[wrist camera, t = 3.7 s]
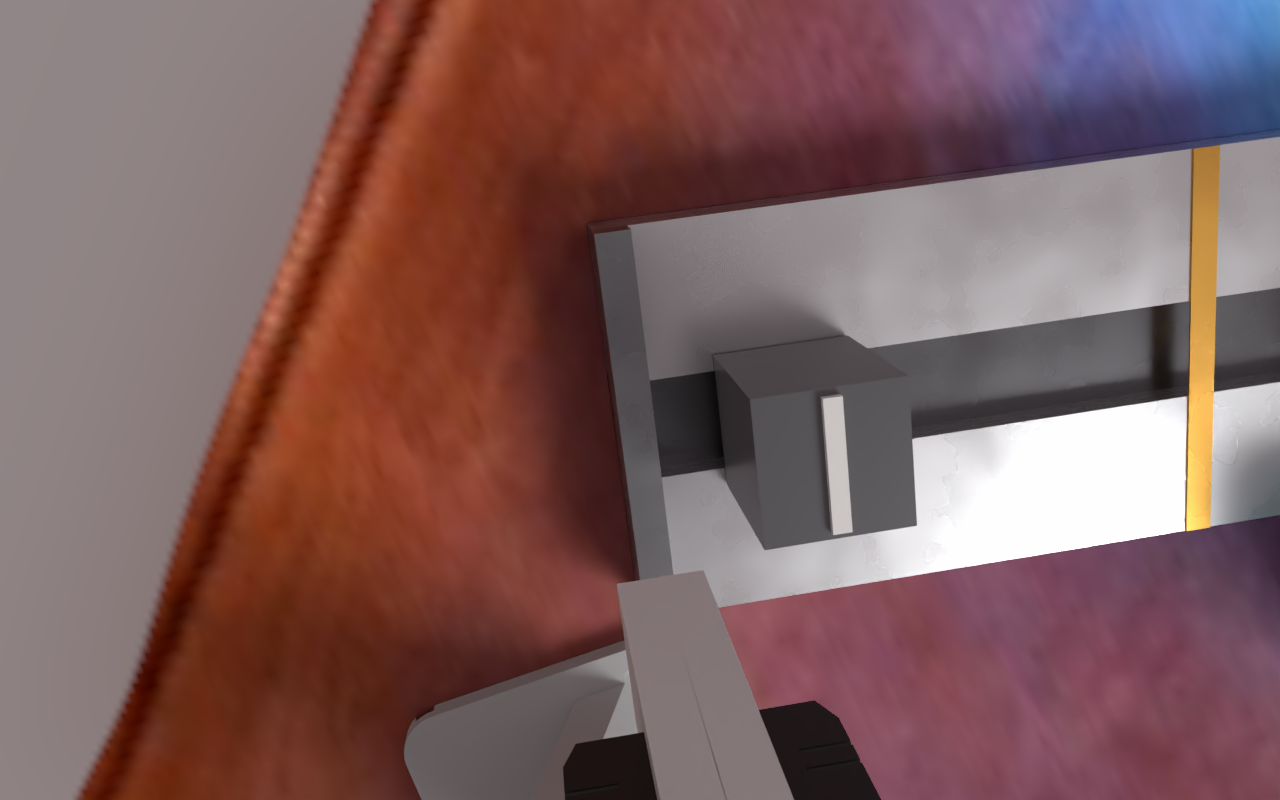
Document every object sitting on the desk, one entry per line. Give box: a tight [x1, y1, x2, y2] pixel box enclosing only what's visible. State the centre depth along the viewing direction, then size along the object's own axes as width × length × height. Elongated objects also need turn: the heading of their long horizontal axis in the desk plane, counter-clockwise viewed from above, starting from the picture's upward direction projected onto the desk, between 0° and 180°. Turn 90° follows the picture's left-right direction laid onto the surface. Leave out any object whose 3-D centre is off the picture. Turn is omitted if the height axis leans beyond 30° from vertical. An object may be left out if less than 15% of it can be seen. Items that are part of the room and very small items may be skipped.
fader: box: [713, 335, 917, 550], centre depth 29 cm, size 4×4×6 cm
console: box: [587, 130, 1280, 608], centre depth 33 cm, size 24×12×3 cm, turn 97°
